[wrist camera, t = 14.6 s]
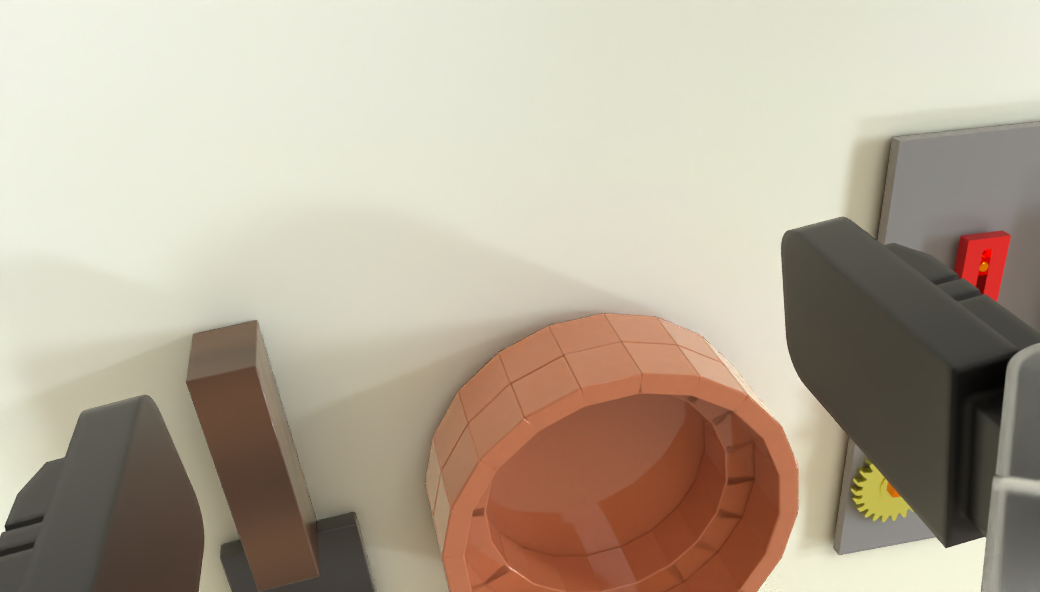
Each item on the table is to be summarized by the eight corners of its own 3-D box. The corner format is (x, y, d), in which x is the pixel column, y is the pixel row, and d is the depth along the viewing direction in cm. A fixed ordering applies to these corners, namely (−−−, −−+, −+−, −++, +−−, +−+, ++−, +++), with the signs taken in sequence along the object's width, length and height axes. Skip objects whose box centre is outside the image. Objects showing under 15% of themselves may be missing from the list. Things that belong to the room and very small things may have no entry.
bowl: (738, 273, 38) (800, 336, 33) (746, 537, 44) (799, 619, 39) (395, 350, 36) (412, 427, 32) (454, 614, 42) (475, 709, 38)
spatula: (147, 343, 34) (136, 392, 31) (300, 310, 34) (303, 355, 32) (272, 688, 42) (271, 752, 39) (394, 655, 42) (402, 716, 40)
